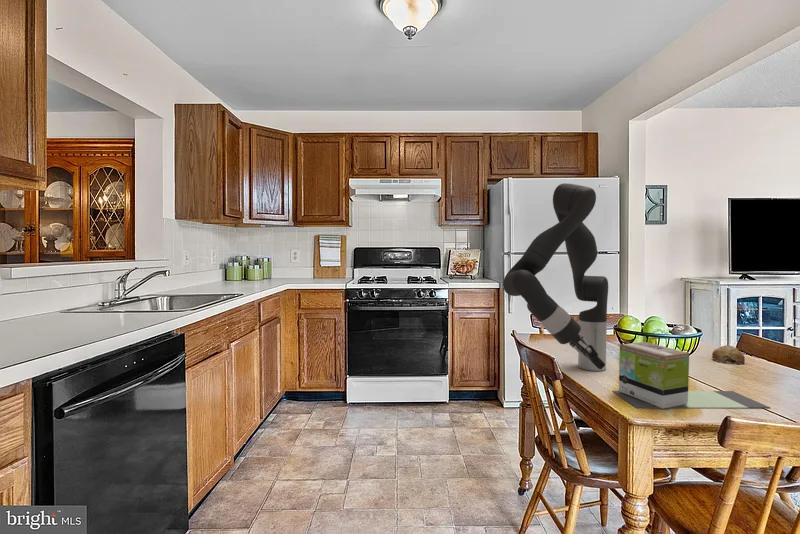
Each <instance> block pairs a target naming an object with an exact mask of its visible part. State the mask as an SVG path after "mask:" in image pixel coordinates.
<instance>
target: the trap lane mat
mask: <svg viewBox="0 0 800 534" xmlns="http://www.w3.org/2000/svg"><path fill="white" fill-rule="evenodd" d="M612 392H613V393H614V394H615V395H616V396H618V397H620V399H623V400H624V401H626V402H627V403H628V404H630V405H631V406H632V407H634V408H635V409H660V408H659V407H657V406H655V405H652V404H650V403H648V402H645V401H643V400H640V399H638V398H635V397H633V396H630V395H628V394H625V393H622V392H619V390H612ZM764 408H770V409H771V407H770V406H768V405H765V404H764V403H761V402H759V401H757V400H754V399H752V398H750V397H748V396H745V395H743V394H740V393H739V392H735V391H734V390H688V403H687V404H685V405H680V406H674V407H669V408H668V409H757V410H758V409H764Z"/></svg>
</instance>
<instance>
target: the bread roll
mask: <svg viewBox="0 0 800 534" xmlns="http://www.w3.org/2000/svg"><path fill="white" fill-rule="evenodd" d="M711 355H712V356H711V359H712V360H713V361H715V362H717V363H720V362H721V364H726V365H743V364H745V360H746V358H745V355H744V353H743V352H742V351H740V349H739V348H737V347H735V346H732V345H727V344H726V345H722V346H719V347H717V348H715V349H714V350H713V351H712V353H711Z"/></svg>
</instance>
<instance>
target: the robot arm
mask: <svg viewBox="0 0 800 534" xmlns="http://www.w3.org/2000/svg"><path fill="white" fill-rule="evenodd" d="M596 201H597V194H596V191H595V189H594V188H592V187H590V186H585V185H579V184H574V183H560V184H558V185H557V186H556V188H555V189H554V191H553V195H552V206H553V209H554V213H555V216H556V218H557V220H558V223H556V224H554V225H553V226H551V227H549V228H547V229H545V230H544V231H543V232H541V233H539V234H538V235H537V236H536V237H535V238H534V239H533V240H532V242H531V243H530V245H529V246H528V247H527V249H525V252H524V253H523V255H522V257H520V259H519V260H518V261H516V263H515V264H514V265H513V266H512V267H511V268H510V270H509V271H508V272H507V273H506V275H505V276H504V278H503V281H502V288H503V290H504V292H505V293H506V294H507V295H509V296H512V297H517V296H518V297H519V296H521V297H522V298H523V299H524V301H525V302H526V303H527V304H526V307H527V309H528V312H530V313H531V315H533V317H534V318H535V319H537V320H538V322H539V323H540V324H541V325H542V327H543V328H544V329H545V330H546V331H547V332H548V333H549V334H550V335H551V336H552V337H553V338H554V339H555V340H556V341H557V342H558V343H559V344H561V345H568V344H569V346H570V347H571V348H573V349H575V351H576V352H577V353H578V355H577V358H578V361H577V362H578V363H577V366H578V368H580V369H582V370H586V371H593V372H598V371H599V372H600V371H605V370H607V369H606V367H607V332H608V331H607V328H608V327H607V323H608V321H607V319H608V299H609V298H608V297H609V281H608V278H607V277H606V276H604V275H603V276H602V275H585V274H586V272H587V271H588V270H589V268H590V267H591V266H592V265H594V262H596V259H597V258H598V247H597V243H596V239H595V236H594V234H593V232H592V231H591V230H590V229H589V227H588V226H586V224H585V223H584V221H585V220H586V219H587V218H588V217H589V215H590V214H591V213H592V211H593V209H594V207H595V205H596ZM563 243H565V248H566V249H565V250H566V253H567V256H568V260H569V265H570V267H571V271H572V278H573V279H572V280H573V281H572V282H573V288H574V293H575V296H576V298H577V299H578V300H579V301H583V302H593V303H594V302H595V303H596V305H595V306H594V307H592V308H590V309H585V310H582V311H579V314H578V322H577V321H576V320H575V319H574V318H573V317H572V316H571V315H570V314H569V313H568V312H567V311H566V310H565V309H564V308H563V307H561V306H560V304H559V303H557V302H556V301H555V300H554V299H553V298H552V297H551V296H550V295H549V294H548V293H547V291H546V290H545V288H544V285H542V284H541V281H540V280H539V279H538V277H536V275H537V274H538V273H540V272H542V271H543V270H544V269H545V267H546V266H547V265H548V264H549V262H550V261H551V259H552V257H553V256H554V254H555V253H556V252H557V250H558V249H560V246H561V245H562V244H563Z"/></svg>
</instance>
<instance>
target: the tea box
mask: <svg viewBox="0 0 800 534" xmlns="http://www.w3.org/2000/svg"><path fill="white" fill-rule="evenodd" d="M618 365H619V366H618V367H619V368H618V391H619V392H622V393H625V394H628V395H630V396H633V397H635V398H638V399H640V400H643V401H645V402H648V403H650V404H652V405H655V406H657V407H659V408H658V409H670V408H669V407H674V406H680V405H685V404H687V403H688V391H689V380H690V379H689V375H690V352H687V351H683V350H679V349H675V348H671V347H667V346H662V345H658V344H655V343H650V342H646V341H640V342H631V343H623V344H620V343H619V364H618Z"/></svg>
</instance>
